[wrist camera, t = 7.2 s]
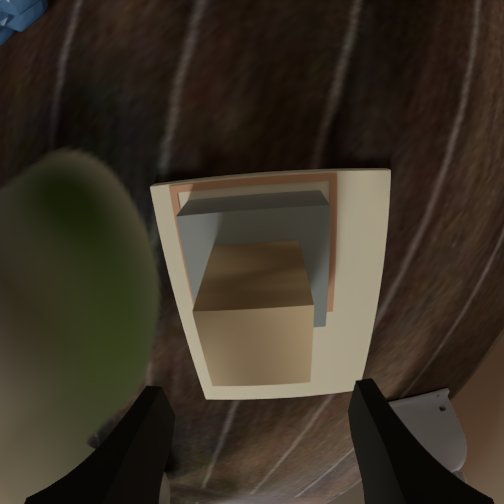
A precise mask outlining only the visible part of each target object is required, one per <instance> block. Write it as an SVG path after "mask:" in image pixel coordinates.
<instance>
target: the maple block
mask: <svg viewBox="0 0 504 504" xmlns="http://www.w3.org/2000/svg"><path fill="white" fill-rule="evenodd" d="M192 313H193V317H194V321H195V325H196V329H197V332H198V336H199V340H200V344H201V347H202V351H203V355H204V358H205V362H206V365H207V369H208V372H209V376H210V379H211V383H212V386H259V385H280V384H295V383H307V382H310V379H311V364H312V346H313V324H314V302H313V298H312V293H311V289H310V285H309V281H308V276H307V272H306V268H305V264H304V260H303V256H302V252H301V248H300V244H299V240H291V241H276V242H261V243H247V244H232V245H218V246H213V247H212V250H211V253H210V256H209V259H208V262H207V265H206V269H205V272H204V275H203V278H202V281H201V284H200V288H199V291H198V294H197V297H196V301H195V304H194V307H193V310H192Z"/></svg>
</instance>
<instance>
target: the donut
mask: <svg viewBox="0 0 504 504" xmlns="http://www.w3.org/2000/svg"><path fill="white" fill-rule="evenodd" d="M159 504H170V487H169V482H168V479H167V476H166V474H165V472H164V475H163V479H162V483H161V488H160V496H159Z"/></svg>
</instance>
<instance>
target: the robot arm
mask: <svg viewBox="0 0 504 504" xmlns="http://www.w3.org/2000/svg"><path fill="white" fill-rule="evenodd" d="M449 392H450V391H449V389H448V388H445V389H442V390H438V391H434V392H430V393H427V394H423V395H419V396H414V397H410V398H406V399H401V400H396V401H391V402H388V401H387V400H386V399H385V397H384V396H383V394H382V393H381V391H380V389H379V388H378V386H377V385H376V383H375V382H374V380H373V379H372V378H370V379H363V380H356V381H355V386H354V390H353V394H352V397H351V401H350V405H349V409H348V415H349V423H350V430H351V436H352V440H353V444H354V449H355V453H356V457H357V461H358V465H359V469H360V473H361V478H362V483H363V489H364V499H365V504H494V502H493V499H492V498H490V497H488V496H486V495H484V494H483V493H481V492H479V491H477V490H476V489H474V488H472V487H471V486H469V485H468V483H467V480H466V478H465V475H464V473H463V472H460V471H459V472H458V470H459V469H460V468H461V467H462V465H463V464H464V462H465V459H466V454H467V445H466V439H465V436H464V433H463V431H462V428H461V426H460V423H459V421H458V419H457V416H456V414H455V412H454V409H453V407H452V405H451V403H450V400H449V398H448V394H449ZM174 423H175V414H174V412H173V410H172V408H171V406H170V404H169V402H168V400H167V397H166V395H165V393H164V391H163V389H162V387H158V386H146V387H145V389H144V390H143V391H142V393H141V394H140V395H139V397H138V398H137V400H136V401H135V402H134V404H133V405H132V406H131V408H130V409H129V410H128V412H127V413H126V414H125V416H124V417H123V418H122V419H121V421H120V422H119V423H118V425H117V426H116V427H115V428H114V430H113V431H112V432H111V433H110V434H109V435H108V436H107V438H106V439H105V440H104V441H103V442H102V443H101V444H100V445H99V446H98V448H97V449H96V450H95V451H94V452H93V453H92V454H91V455H89V456H88V457H87V458H86V459H85V460H84V461H83V462H82V463H81V464H79V466H77V467H76V468H75V469H74V470H72V471H71V472H70V473H69V474H67V475H66V476H64V477H63V478H61V479H60V480H58V481H57V482H55V483H54V484H52V485H51V486H49V487H47V488H45V489H43V490H42V491H40V492H38V493H36V494H34V495H32V496H30V497H27V498H26V501H25V503H24V504H159V496H160V488H161V483H162V479H163V475H164V471H165V467H166V463H167V459H168V455H169V451H170V447H171V443H172V439H173V432H174Z"/></svg>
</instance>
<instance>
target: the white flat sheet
mask: <svg viewBox="0 0 504 504" xmlns="http://www.w3.org/2000/svg"><path fill="white" fill-rule="evenodd" d="M390 181H391V170H389V169H387V168H343V169H312V170H292V171H275V172H261V173H248V174H236V175H225V176H215V177H206V178H197V179H188V180H180V181H172V182H164V183H157V184H153V185H152V186H150V189H151V194H152V199H153V205H154V210H155V214H156V219H157V224H158V229H159V233H160V238H161V242H162V247H163V251H164V255H165V260H166V264H167V268H168V272H169V276H170V280H171V284H172V288H173V292H174V295H175V299H176V303H177V307H178V310H179V314H180V317H181V321H182V324H183V328H184V331H185V335H186V338H187V342H188V345H189V348H190V351H191V355H192V358H193V361H194V364H195V367H196V371H197V374H198V377H199V380H200V383H201V386H202V389H203V392H204V395H205V398H206V399H268V398H287V397H300V396H312V395H322V394H331V393H339V392H347V391H353V390H354V386H355V381H356V380H362V376H363V372H364V368H365V364H366V359H367V355H368V350H369V346H370V341H371V336H372V331H373V326H374V321H375V315H376V310H377V304H378V298H379V292H380V285H381V278H382V271H383V263H384V255H385V246H386V237H387V226H388V214H389V200H390ZM313 190H320V191H321V192H322V194H323V195H324V197H325V198H326V200H327V201H328V203H329V204H330V251H329V278H328V298H327V315H326V326H324V327H313V346H312V364H311V379H310V382H307V383H295V384H280V385H259V386H212V383H211V379H210V376H209V372H208V369H207V365H206V362H205V358H204V355H203V351H202V347H201V344H200V340H199V336H198V332H197V329H196V325H195V321H194V317H193V313H192V310H193V307H194V300H193V296H192V292H191V287H190V283H189V278H188V274H187V269H186V264H185V260H184V255H183V250H182V245H181V240H180V235H179V230H178V225H177V219H176V216H177V214H178V213H179V212H180V210H181V209H182V207H183V206H184V205H185V203H186V202H187V201H188V200H194V199H204V198H215V197H226V196H237V195H250V194H263V193H278V192H294V191H313Z"/></svg>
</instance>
